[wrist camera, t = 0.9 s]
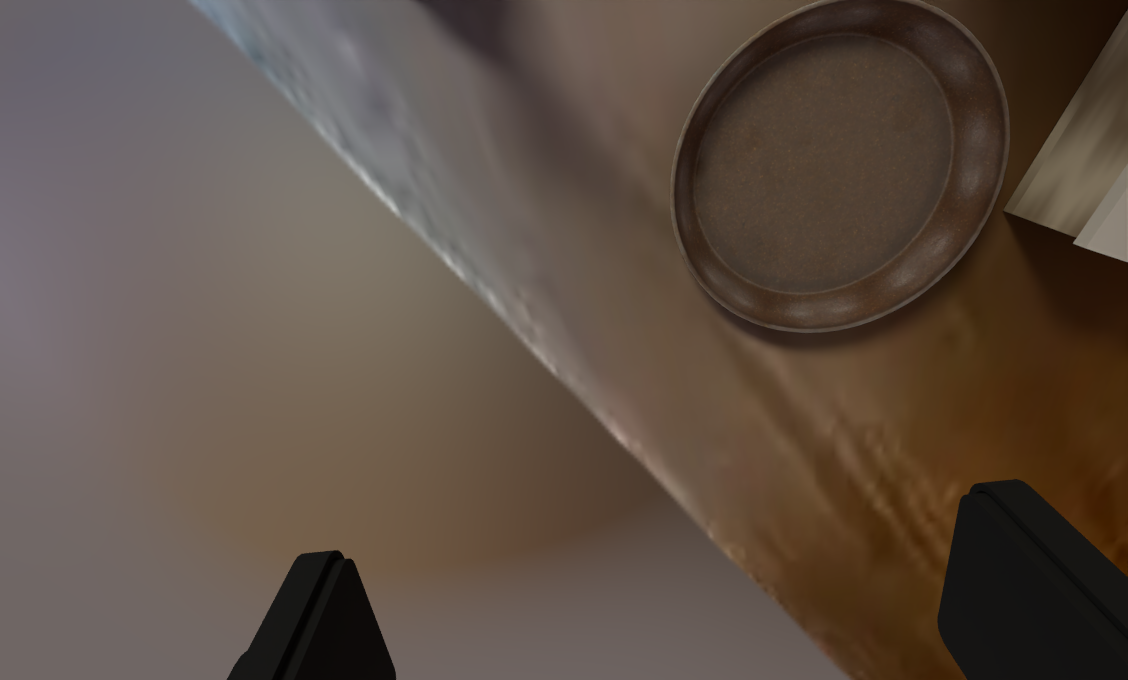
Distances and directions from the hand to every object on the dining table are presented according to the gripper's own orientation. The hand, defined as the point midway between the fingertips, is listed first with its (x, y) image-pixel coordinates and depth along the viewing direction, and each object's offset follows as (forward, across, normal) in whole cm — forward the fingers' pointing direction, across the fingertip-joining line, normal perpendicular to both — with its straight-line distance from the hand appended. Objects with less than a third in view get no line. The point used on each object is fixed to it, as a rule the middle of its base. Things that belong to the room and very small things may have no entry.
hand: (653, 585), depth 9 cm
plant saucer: (+29, -13, +1) cm, 32 cm away
